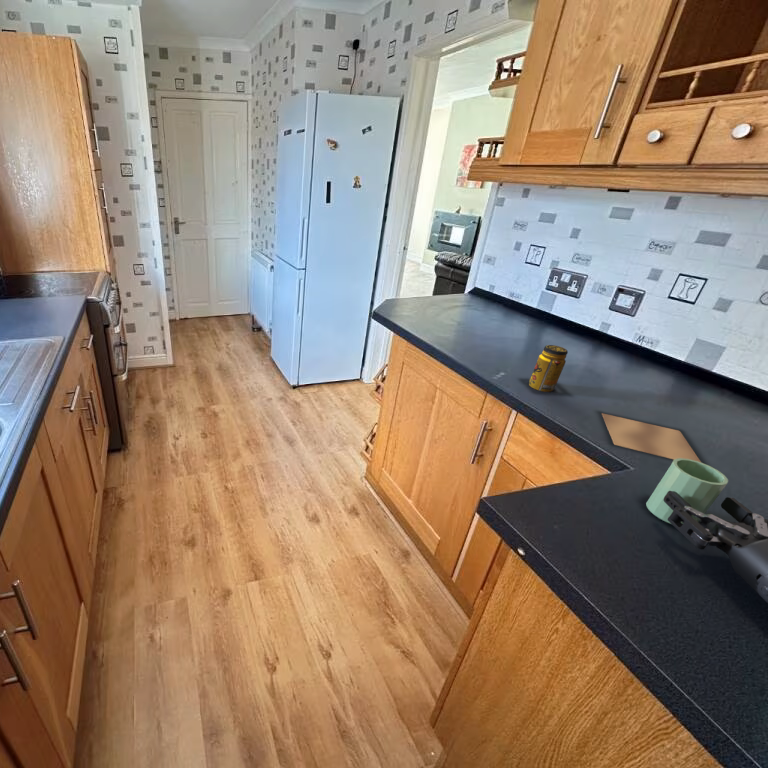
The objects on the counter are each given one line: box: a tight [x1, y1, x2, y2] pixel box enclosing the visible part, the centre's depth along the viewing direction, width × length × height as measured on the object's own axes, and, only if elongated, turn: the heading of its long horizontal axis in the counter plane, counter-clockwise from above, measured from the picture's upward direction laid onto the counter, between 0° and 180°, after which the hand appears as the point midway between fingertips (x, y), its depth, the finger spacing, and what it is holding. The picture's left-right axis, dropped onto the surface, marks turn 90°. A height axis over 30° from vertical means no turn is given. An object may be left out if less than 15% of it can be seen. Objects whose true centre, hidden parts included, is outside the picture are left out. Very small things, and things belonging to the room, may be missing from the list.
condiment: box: [528, 344, 568, 393], centre depth 111 cm, size 7×8×12 cm
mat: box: [601, 412, 702, 463], centre depth 93 cm, size 15×15×1 cm
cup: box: [645, 458, 729, 525], centre depth 70 cm, size 7×7×10 cm
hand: (696, 497), depth 68 cm, fingers open, 8 cm apart
